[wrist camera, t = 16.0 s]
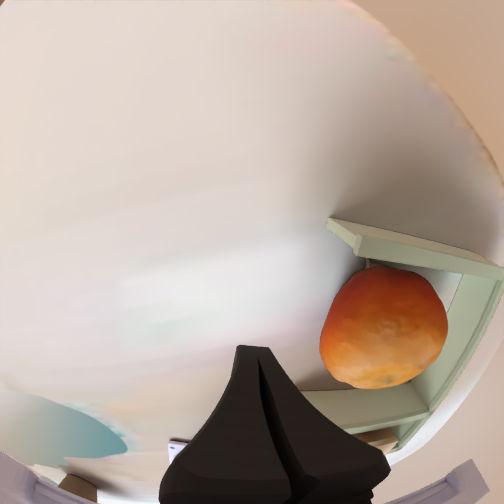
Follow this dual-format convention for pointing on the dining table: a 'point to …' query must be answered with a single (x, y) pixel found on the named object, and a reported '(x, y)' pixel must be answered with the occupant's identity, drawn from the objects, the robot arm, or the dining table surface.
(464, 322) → the divider frame
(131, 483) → the dining table surface
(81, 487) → the flower pot
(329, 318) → the fruit
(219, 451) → the robot arm
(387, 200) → the dining table surface
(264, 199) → the dining table surface
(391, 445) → the walnut box
